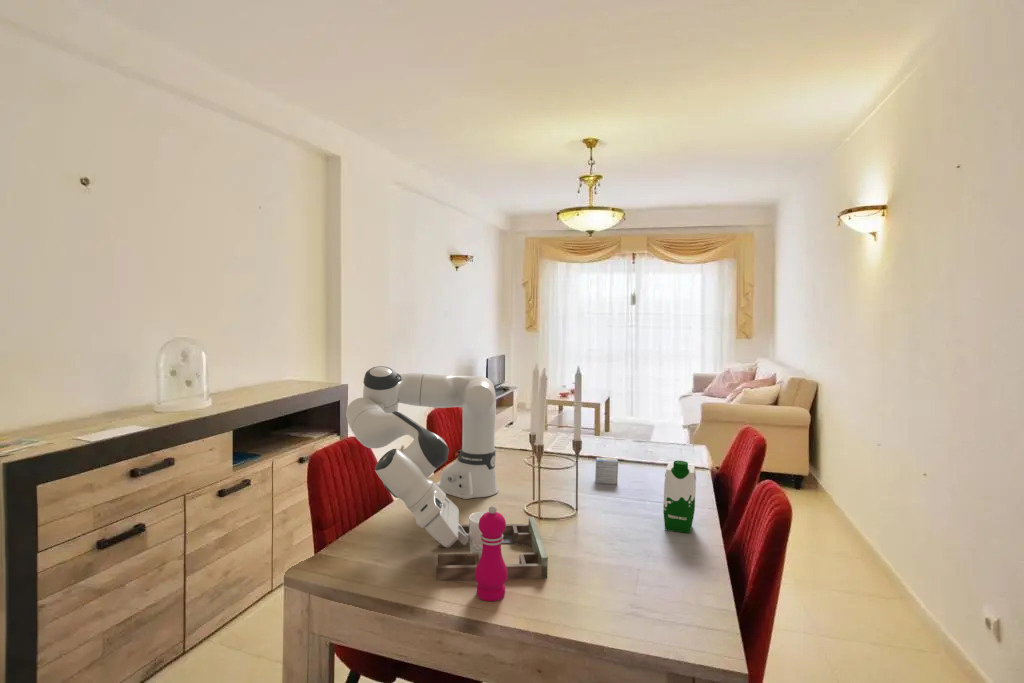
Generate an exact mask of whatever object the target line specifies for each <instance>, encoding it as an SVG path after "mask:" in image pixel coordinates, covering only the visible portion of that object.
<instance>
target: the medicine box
mask: <svg viewBox="0 0 1024 683" xmlns="http://www.w3.org/2000/svg"><path fill="white" fill-rule="evenodd" d="M618 472H619V460H618V458H615V457H595V477H594V478H595V484H600V485H601V484H603V485H618V478H619V477H618V475H619V474H618Z"/></svg>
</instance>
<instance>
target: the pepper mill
mask: <svg viewBox="0 0 1024 683" xmlns="http://www.w3.org/2000/svg"><path fill="white" fill-rule="evenodd" d="M486 512H487V513H485V514H483V515H482V516H481V518H480V520H479V530H480V531H481V532H482V534H481V542H482V543H483V550H482V555H481V558H480V561H479V563H478V565H477V567H476V570H475V580H474V581H476V583H477V586H476V596H477V597H478V598H479V599H480V600H482V601H486V602H497V601H499V600H500V601H501V600H502V599H503V598H504V597H505V595H506V586H505V583H506V582H507V580H508V579H507V577H508V576H507V568H506V565H505V564H506V562H505V561H504V558H503V555H502V544H501V543H502V542H503V534H502V533H503V532H504V530H505V528H506V524H507V522H506V519H505V516H504V515H502V513H500V512H497V507H496V506H495V505H490V506H489V507H488V511H486Z"/></svg>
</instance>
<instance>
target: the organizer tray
mask: <svg viewBox="0 0 1024 683" xmlns="http://www.w3.org/2000/svg"><path fill="white" fill-rule="evenodd" d="M460 525H461V526H462V528H463V529H464V531H465V532H466V533H467V534H468V536H469V524H460ZM502 534H503V542H502V543H501V545H515V544H516V545H518V546H531V548H532V550H533V552H523V553H522V554H519V555H518V556H519V558H518V559H519V562H518V563H505V565H506V568H507V576H508V577H507V580H517V579H520V580H523V579H526V580H527V579H529V580H530V579H548V564H549V560H548V559H549V557H548V554H547V551H546V548H545V545H544V542H543V540H542V537H541V534H540V531H539V528H538V525H537V522H536V519H535V517H534V516H528V523H506V528H505V530H504V532H503V533H502ZM438 547H439V548H440V547H442V548H443V547H444V546H443V545H442V544H440V543H439V542H438ZM451 547H470V538H469V541H468V542H467V543H466V544H465V545H463V544H462V543H461V542H460V541H459V540H457V541H456V542H455V543H454V544H453V545H452V546H451ZM444 548H445V547H444ZM436 557H437V559H436V560H437V565H436V568H435V571H436V573H435V574H436V576H435V577H436V578H435V579H436V580H435V581H473V580H474V581H476V580H475V570H476V567H477V565H478V563H479V554H470V553H438V554H437V556H436Z"/></svg>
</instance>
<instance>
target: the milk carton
mask: <svg viewBox="0 0 1024 683" xmlns="http://www.w3.org/2000/svg"><path fill="white" fill-rule="evenodd" d="M696 474H697V473H696V467H695V465H689V463H688V462H687V461H683V460H674V461H673V463H672V462H668V464H667V465H666V468H665V472H664V477H665V478H664V487H663V488H664V489H663V510H662V511H663V522H664V523H663V524H664V531H670V532H677V533H681V534H682V533H684V534H689V535H690V534H691V531H692V526H693V520H694V516H695V509H696V492H697V491H696V490H697V489H696V488H697V485H696V483H697V475H696Z"/></svg>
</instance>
